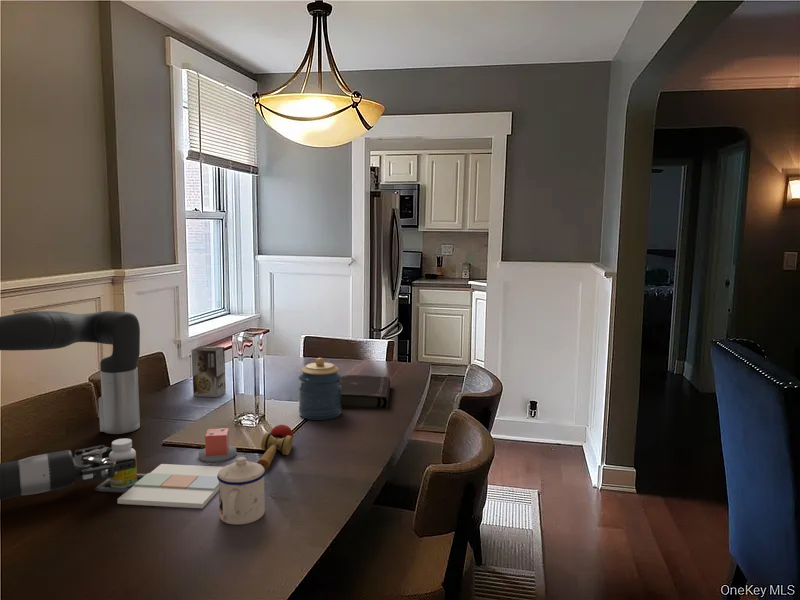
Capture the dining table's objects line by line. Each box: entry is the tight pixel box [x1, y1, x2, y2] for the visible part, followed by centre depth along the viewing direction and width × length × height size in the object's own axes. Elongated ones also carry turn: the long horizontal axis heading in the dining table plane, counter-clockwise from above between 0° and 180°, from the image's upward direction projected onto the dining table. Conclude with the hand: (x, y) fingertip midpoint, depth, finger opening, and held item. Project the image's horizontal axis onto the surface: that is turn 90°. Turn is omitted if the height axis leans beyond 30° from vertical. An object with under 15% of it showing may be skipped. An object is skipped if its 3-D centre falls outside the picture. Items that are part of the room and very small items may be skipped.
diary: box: [340, 374, 391, 409], centre depth 196 cm, size 19×25×5 cm
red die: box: [198, 427, 237, 463], centre depth 144 cm, size 9×9×6 cm
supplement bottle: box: [108, 438, 138, 488], centre depth 127 cm, size 5×5×10 cm
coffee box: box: [191, 345, 227, 398], centre depth 196 cm, size 9×6×16 cm
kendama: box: [256, 424, 294, 471], centre depth 144 cm, size 8×6×18 cm
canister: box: [298, 357, 342, 421], centre depth 176 cm, size 13×13×18 cm
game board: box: [94, 463, 224, 509], centre depth 127 cm, size 26×18×1 cm
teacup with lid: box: [217, 456, 266, 526], centre depth 112 cm, size 12×9×12 cm
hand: (131, 455), depth 128 cm, fingers open, 8 cm apart
